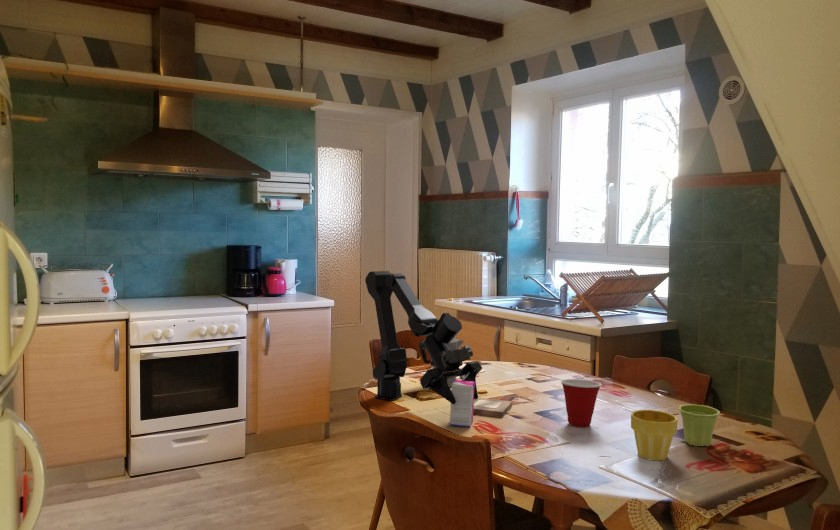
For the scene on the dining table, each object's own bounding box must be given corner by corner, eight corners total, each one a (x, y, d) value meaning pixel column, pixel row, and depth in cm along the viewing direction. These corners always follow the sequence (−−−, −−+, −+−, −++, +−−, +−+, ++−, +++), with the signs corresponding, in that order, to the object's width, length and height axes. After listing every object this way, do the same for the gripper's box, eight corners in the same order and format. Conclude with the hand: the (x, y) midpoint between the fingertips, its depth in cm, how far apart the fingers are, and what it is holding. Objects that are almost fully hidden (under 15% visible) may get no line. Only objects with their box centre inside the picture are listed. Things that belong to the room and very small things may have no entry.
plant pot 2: (714, 452, 162) (716, 417, 162) (674, 444, 167) (675, 410, 167) (720, 441, 170) (722, 408, 170) (681, 434, 175) (683, 402, 175)
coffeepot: (458, 380, 229) (460, 328, 228) (466, 387, 220) (468, 333, 219) (414, 382, 226) (416, 329, 225) (421, 389, 217) (422, 334, 216)
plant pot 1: (650, 466, 152) (652, 424, 152) (620, 451, 162) (622, 411, 161) (685, 460, 156) (687, 419, 156) (653, 446, 166) (655, 407, 165)
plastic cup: (601, 421, 186) (602, 378, 185) (598, 432, 176) (600, 387, 175) (561, 416, 190) (563, 374, 189) (556, 427, 179) (558, 383, 179)
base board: (461, 412, 192) (461, 406, 192) (473, 401, 203) (473, 396, 203) (502, 417, 188) (502, 411, 187) (512, 406, 199) (512, 401, 199)
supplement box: (471, 428, 177) (472, 385, 176) (449, 426, 178) (450, 384, 177) (473, 421, 183) (475, 380, 182) (452, 420, 184) (453, 379, 183)
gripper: (427, 339, 176) (455, 389, 168) (478, 333, 188) (506, 379, 180) (408, 363, 183) (434, 413, 175) (458, 356, 194) (484, 401, 187)
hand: (465, 401), depth 179 cm, fingers closed on supplement box, 8 cm apart
